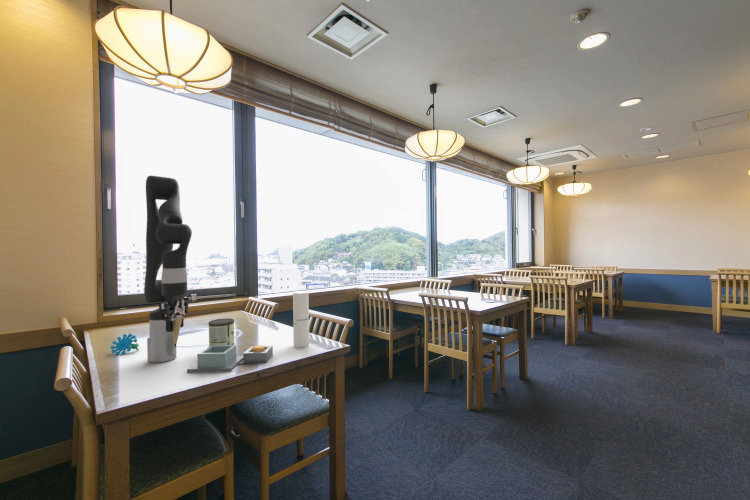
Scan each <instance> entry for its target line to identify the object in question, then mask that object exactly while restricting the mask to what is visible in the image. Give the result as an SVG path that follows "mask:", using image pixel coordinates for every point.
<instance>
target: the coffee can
mask: <svg viewBox="0 0 750 500" xmlns="http://www.w3.org/2000/svg"><path fill="white" fill-rule="evenodd" d="M207 324H208V344H209V345H208V347H209V346H215V345H235V319H234V318H216V319H212V320H209V321H208V322H207Z"/></svg>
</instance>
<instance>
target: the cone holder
mask: <svg viewBox="0 0 750 500" xmlns="http://www.w3.org/2000/svg"><path fill="white" fill-rule="evenodd" d="M196 356H197V358H196V361H197V362H196V363H194V364H192V365H191V366H190V367H188V368H187V370H186V371H187V373H219V372H220V373H222V372H224V373H225V372H226V373H227V372H230V373H231V372H232V371H233V370H234V369H235V368H237V367H238V366H239V364H241V363H242V362H244V358H243V355H237V344H234V345H215V346H209V345H208V346H207V347H206V348H204V349H203V350H202V351H200V352H198V353H197V355H196Z"/></svg>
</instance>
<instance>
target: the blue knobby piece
mask: <svg viewBox="0 0 750 500" xmlns="http://www.w3.org/2000/svg"><path fill="white" fill-rule="evenodd" d="M116 339H117V341H118V342H117V341H116V340H114V341H113V342H112V345H111V346H110V349H111V353H112V354H115V355H117V356H119V355H120V354H121V355H125V354H126V351H127V352H131V351H132V350H136V351H137V350H138V351H140V350H139V346H140V344H139V343H137V342H138V339H137V336H136V335H133V334H132V333H128V334H126V333H125V334H123V335H122V336H117V337H116ZM114 345H115V346H114ZM118 354H119V355H118Z"/></svg>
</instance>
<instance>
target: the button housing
mask: <svg viewBox="0 0 750 500" xmlns="http://www.w3.org/2000/svg"><path fill="white" fill-rule="evenodd" d="M254 346H255V345H252V346H250V347H249V348H247V350H244V352H243V353H242V354H243V355H242V356H243V358H244V360H243V364H265V363H267V362H268V361H269V360H271V358H272V357H273V355H274V353H273V352H274V351H273V350H274V349H273V347H274V346H273V345H264V346H265V351H264V352H252V347H254Z"/></svg>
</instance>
